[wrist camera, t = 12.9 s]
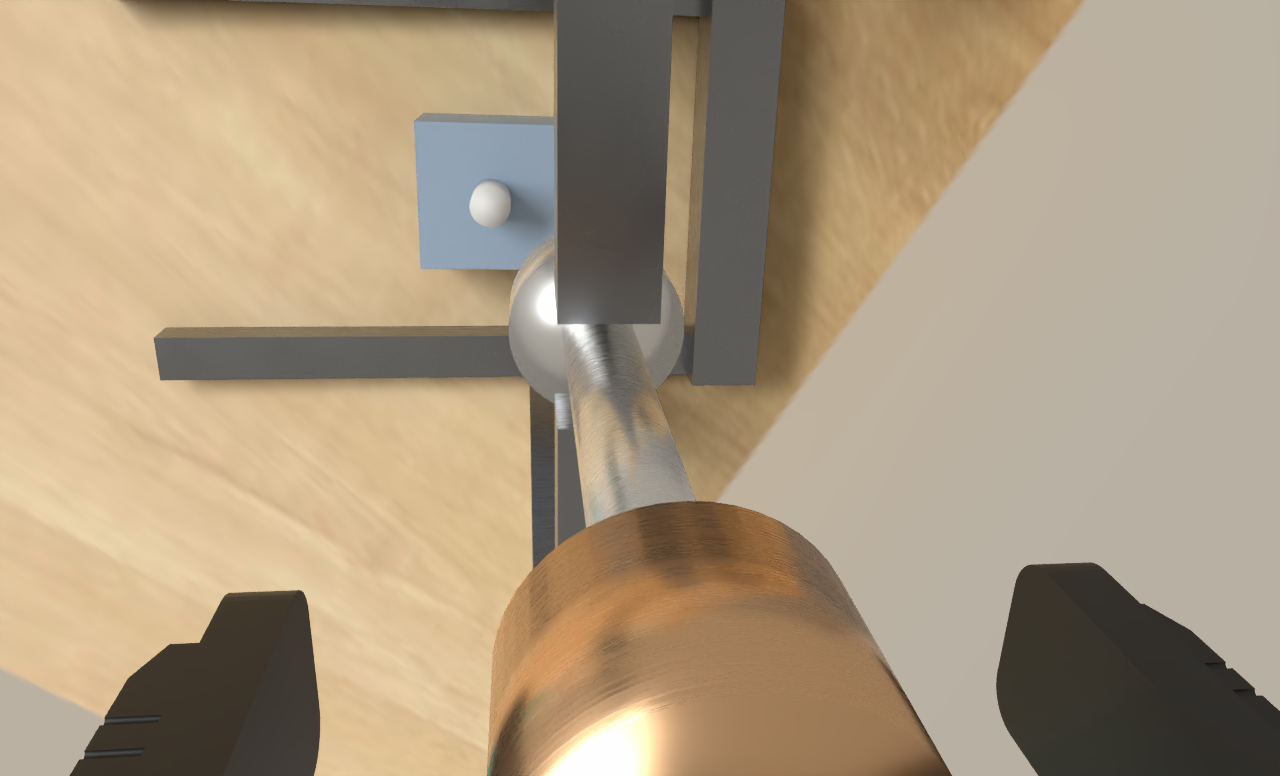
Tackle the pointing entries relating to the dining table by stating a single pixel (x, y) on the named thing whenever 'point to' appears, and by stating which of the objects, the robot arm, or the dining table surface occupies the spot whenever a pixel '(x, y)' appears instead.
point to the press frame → (589, 225)
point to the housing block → (483, 189)
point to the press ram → (675, 600)
